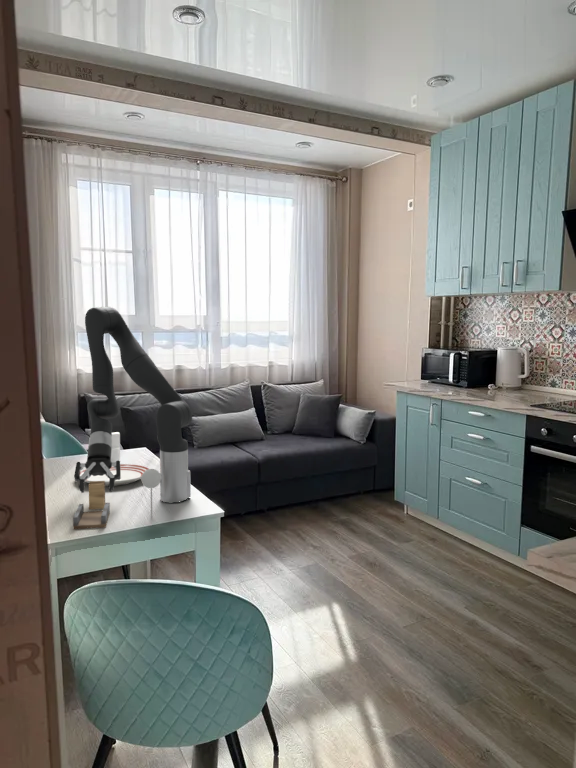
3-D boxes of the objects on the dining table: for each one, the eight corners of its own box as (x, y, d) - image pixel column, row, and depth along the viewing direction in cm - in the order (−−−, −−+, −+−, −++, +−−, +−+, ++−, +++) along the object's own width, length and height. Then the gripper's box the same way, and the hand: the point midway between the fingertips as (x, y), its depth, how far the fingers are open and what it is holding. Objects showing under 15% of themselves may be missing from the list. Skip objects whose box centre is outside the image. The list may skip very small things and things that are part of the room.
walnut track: (79, 515, 172) (79, 504, 171) (109, 513, 173) (109, 502, 173) (73, 529, 160) (73, 517, 160) (105, 527, 162) (105, 515, 161)
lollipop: (141, 520, 168) (140, 472, 166) (141, 514, 173) (140, 467, 172) (162, 519, 170) (162, 471, 168) (161, 512, 175) (161, 466, 173)
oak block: (90, 505, 181) (90, 481, 180) (105, 504, 182) (104, 480, 181) (89, 509, 177) (88, 484, 176) (103, 508, 178) (103, 484, 177)
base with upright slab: (116, 457, 242) (115, 430, 241) (123, 462, 235) (122, 434, 234) (95, 460, 237) (94, 433, 236) (101, 465, 230) (101, 436, 229)
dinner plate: (74, 473, 218) (74, 465, 217) (145, 467, 228) (145, 459, 228) (77, 494, 193) (76, 484, 192) (157, 486, 203) (156, 477, 203)
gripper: (76, 442, 184) (71, 486, 174) (121, 441, 187) (118, 484, 177) (79, 454, 189) (74, 497, 180) (122, 453, 192) (120, 495, 183)
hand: (96, 491), depth 178 cm, fingers open, 8 cm apart
